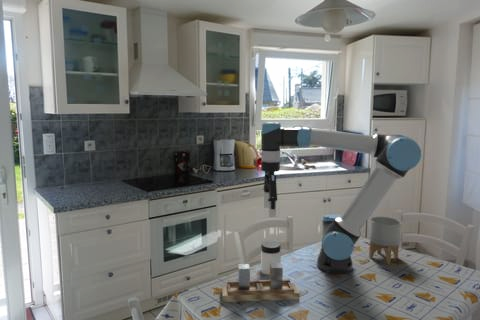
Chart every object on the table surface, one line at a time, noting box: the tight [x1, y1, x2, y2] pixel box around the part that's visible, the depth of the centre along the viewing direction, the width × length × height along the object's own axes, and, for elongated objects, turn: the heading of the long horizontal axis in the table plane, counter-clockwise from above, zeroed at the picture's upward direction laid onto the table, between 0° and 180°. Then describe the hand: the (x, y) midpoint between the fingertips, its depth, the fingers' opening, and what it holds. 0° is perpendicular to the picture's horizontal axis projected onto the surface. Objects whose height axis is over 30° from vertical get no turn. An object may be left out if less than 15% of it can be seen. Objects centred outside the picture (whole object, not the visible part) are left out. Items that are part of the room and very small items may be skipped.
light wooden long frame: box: [221, 263, 301, 303], centre depth 136 cm, size 28×8×12 cm, turn 94°
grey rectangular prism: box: [237, 263, 251, 290], centre depth 135 cm, size 4×4×9 cm
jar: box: [260, 240, 282, 276], centre depth 156 cm, size 9×8×12 cm
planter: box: [368, 216, 402, 264], centre depth 170 cm, size 13×13×18 cm
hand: (269, 211), depth 151 cm, fingers open, 13 cm apart
